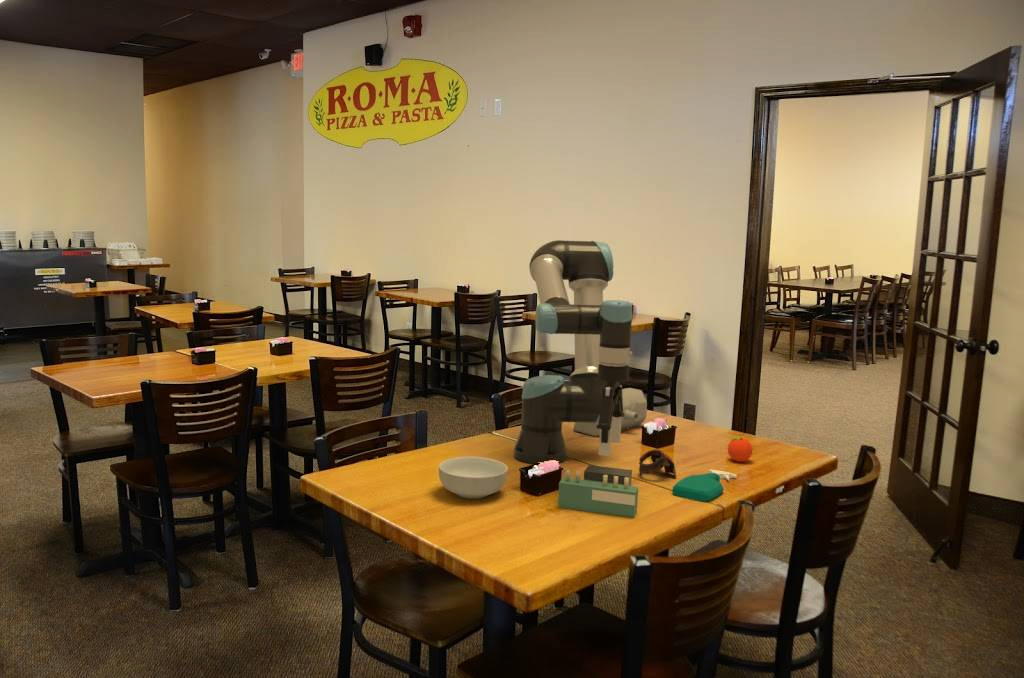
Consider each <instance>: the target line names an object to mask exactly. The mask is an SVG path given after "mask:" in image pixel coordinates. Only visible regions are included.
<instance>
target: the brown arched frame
mask: <svg viewBox="0 0 1024 678" xmlns="http://www.w3.org/2000/svg"><path fill="white" fill-rule="evenodd" d="M648 458H650V459H651V461H652V462H651V463H644V462H645V460H647V459H648ZM638 460H639V463H638V464H639V468H638V472H639V475H640V476H642V475H643V474H646V475H648V474H653V473H657V472H658V473H662V470H661V469H662V468H664V473H665V474H672V475H673V479H675V480H676V479H677V473H676V467H675V463H674V461H673V459H672V458H671V457H670V455H668V454H667V453H664V451H663V450H662V449H657V448H656V449H651V450H648V451H646V452H644V454H642V455H641V456H640V457H639V459H638Z"/></svg>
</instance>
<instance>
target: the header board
mask: <svg viewBox="0 0 1024 678" xmlns="http://www.w3.org/2000/svg"><path fill="white" fill-rule="evenodd" d="M607 478H608V475H603V482H597V481H589V480H584V479H582V478H581V471H579V470H577V471H576V472H575V478H572V477H571V470H570V469H565V476H564V477H562V479H561V480H560V481H559V482H558V498H557V499H558V500H557V501H558V503H557V508H560V509H561V508H562V509H569V510H576V511H583V512H590V513H595V514H596V513H597V514H604V515H609V516H610V515H611V516H617V517H626V518H633V519H634V518H635V516H636V515H637V512H638V503H639V502H638V501H639V500H638V499H639V486H633V485H631V486H629V478H628V477H625V479H624V485H621V484H618V476H614V484H613V483H607Z"/></svg>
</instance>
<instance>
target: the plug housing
mask: <svg viewBox="0 0 1024 678" xmlns="http://www.w3.org/2000/svg"><path fill="white" fill-rule="evenodd" d="M603 475H608V478H607V483H613V484H614V476H618V484H621V485H624V479H625V477H628V478H629V486H632V477H633V476H632V475H633V470H632V469H625V468H618V467H609V466H603V465H602V466H601V465H594V464H593V465H592V464H588V465H587V467H586V468H585V469H584V471H583V480H589V481H597V482H603Z"/></svg>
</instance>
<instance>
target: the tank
mask: <svg viewBox="0 0 1024 678" xmlns="http://www.w3.org/2000/svg"><path fill="white" fill-rule="evenodd" d="M622 397H623V413H625V415H624V417H621V431H624V430H623V429H625V430H628V429H627V428H629V429H632V428H631V427H633V428H636V427H635V426H637V427H640V426H641V424H643V422H644V421H645V420H646V419H647V412H648V411H647V410H648V408H647V407H648V402H647V399H646V397H645V394H644V392H643V390H641V389H638V388H637V389H636V388H632V387H628V388H627V387H626V388H622ZM598 424H599V423H593V422H574V425H573V428H572V431H573V432H576V431H577V433H580V432H581V434H584V433H585V434H584V435H587V434H588V435H589V436H591V435H592V436H591V437H595V436H597V437H599V436H600V429H597V425H598ZM588 435H587V436H588Z"/></svg>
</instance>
